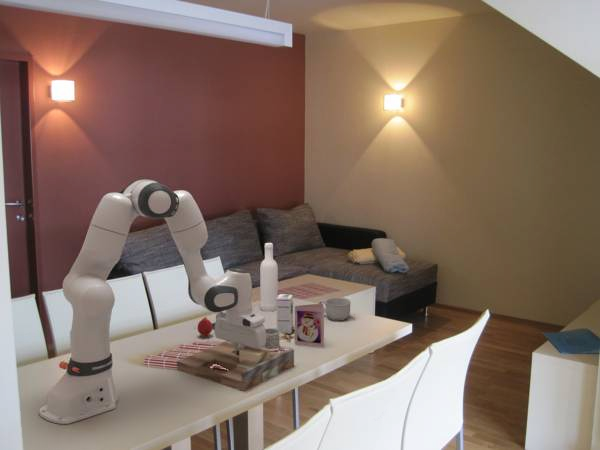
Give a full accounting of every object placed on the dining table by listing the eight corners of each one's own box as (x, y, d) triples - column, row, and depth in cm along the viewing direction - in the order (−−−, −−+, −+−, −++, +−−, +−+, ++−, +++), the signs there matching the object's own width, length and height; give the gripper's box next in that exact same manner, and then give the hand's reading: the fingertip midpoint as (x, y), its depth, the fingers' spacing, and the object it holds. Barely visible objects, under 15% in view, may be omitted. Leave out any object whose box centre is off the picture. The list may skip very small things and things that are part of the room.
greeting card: (293, 345, 238) (293, 306, 236) (299, 338, 245) (299, 301, 243) (323, 348, 235) (323, 309, 232) (328, 341, 242) (328, 303, 239)
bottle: (270, 305, 290) (270, 241, 285) (281, 309, 284) (281, 243, 279) (256, 308, 285) (256, 243, 280) (267, 312, 279) (267, 245, 274)
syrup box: (291, 333, 251) (291, 298, 249) (276, 332, 252) (276, 297, 250) (293, 328, 257) (293, 294, 255) (279, 328, 258) (279, 293, 256)
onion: (209, 339, 244) (209, 319, 243) (195, 338, 245) (195, 318, 244) (214, 334, 250) (214, 315, 248) (200, 333, 251) (200, 314, 250)
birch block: (258, 369, 206) (258, 354, 206) (239, 364, 211) (239, 350, 210) (269, 363, 211) (269, 349, 211) (250, 358, 216) (250, 344, 215)
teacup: (354, 317, 272) (355, 299, 271) (342, 324, 263) (343, 305, 262) (326, 312, 280) (326, 294, 278) (314, 318, 271) (314, 300, 269)
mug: (268, 344, 239) (267, 327, 238) (282, 347, 236) (282, 330, 235) (252, 352, 231) (252, 334, 230) (267, 355, 227) (267, 338, 226)
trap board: (244, 391, 197) (244, 373, 196) (177, 369, 214) (176, 352, 213) (293, 365, 218) (293, 349, 217) (228, 347, 235) (228, 332, 234)
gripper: (209, 312, 216) (210, 351, 218) (256, 323, 204) (257, 364, 206) (222, 308, 221) (223, 346, 223) (268, 318, 209) (269, 358, 211)
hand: (239, 355), depth 214 cm, fingers closed
